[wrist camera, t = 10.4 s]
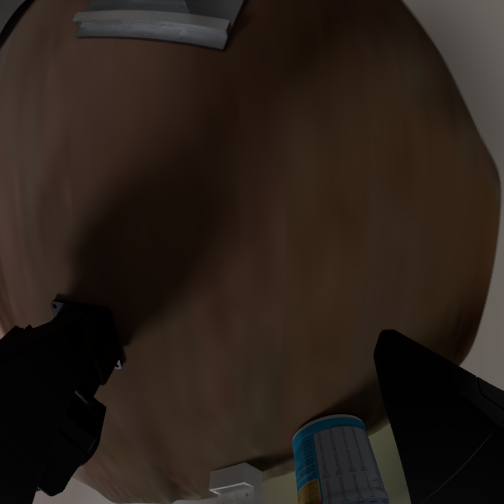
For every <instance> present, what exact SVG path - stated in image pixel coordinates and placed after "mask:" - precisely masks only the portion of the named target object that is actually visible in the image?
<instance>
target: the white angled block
mask: <svg viewBox="0 0 504 504" xmlns="http://www.w3.org/2000/svg"><path fill="white" fill-rule="evenodd" d="M209 490H210V491H212V492H214V493H216V494H218V502H217V504H263V491H262V471H260V470H258V469H256V468H255V467H253V466H251V465H249V464H247V463H246V462H244V463H241V464H238V465H234V466H230V467H227V468H223V469H219V470H215V471H211V475H210V483H209Z"/></svg>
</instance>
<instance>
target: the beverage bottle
mask: <svg viewBox="0 0 504 504" xmlns="http://www.w3.org/2000/svg"><path fill="white" fill-rule="evenodd" d="M292 443H293V451H294V460H295V470H296V481H297V493H298V504H389V503H390V502H389V496H388V493H387V492H386V491H385V488H384V485H383V482H382V479H381V476H380V472H379V469H378V466H377V463H376V460H375V457H374V454H373V451H372V448H371V445H370V442H369V439H368V435H367V431H366V428H365V425H364V423H363V422H362V420H360V419H359V418H358V417H355V416H352V415H347V414H335V415H329V416H324V417H321V418H318V419H315V420H313V421H311V422H309V423H307V424H306V425H304V426H303V427H301V428H300V429H299V430H298V431H297V432H296V434H295V435H294V438H293V442H292Z"/></svg>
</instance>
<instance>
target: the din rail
mask: <svg viewBox="0 0 504 504" xmlns="http://www.w3.org/2000/svg"><path fill="white" fill-rule="evenodd" d="M245 1H246V0H189V1H188V3H187V5H181V4H169V3H150V2H129V1H128V0H92V2H91V4H90V6H89V8H88V10H87V12H79V13H76V14H75V16H74V18H73V21H72V22H74V23H75V24H77V25H79V26H80V27H79V29H78V31H77V34H76V36H75V37H77V38H79V39H81V38H114V39H135V40H148V41H158V42H167V43H174V44H182V45H188V46H194V47H200V48H206V49H211V50H216V51H221V52H224V50H225V48H226V45H227V43H228V40H229V38H230V35H231V33H232V30H233V28H234V26H235V23H236V21H237V19H238V16H239V14H240V12H241V10H242V7H243V5H244V3H245Z"/></svg>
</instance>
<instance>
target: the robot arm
mask: <svg viewBox="0 0 504 504" xmlns="http://www.w3.org/2000/svg"><path fill="white" fill-rule="evenodd" d="M51 308H52V312H53V315H54V319H53V320H52V321H51V322H48V323H46V324H43V325H41V326H38V327H35V328H32V326H31V325H30V324H29V325H28V326H27V327H26V328H25V329H23V327H22V328H20V327H18V326H15V327H13V328H12V329H11V330H10V331H9V332H8V333H7V334H6V335H5V336H4V337H3V338H1V339H0V504H32V503H33V500H34V496H35V493H36V491H40V490H41V491H43V492H44V493H46V494H47V495H48V496H54V495H57V494H59V493H61V492H63V490H64V489H65V487H66V485H67V484H68V482H69V480H70V478H71V477H72V475H73V474H74V472H75V471H76V470H77V469H78V467H80V466H82V465H84V464H85V463H86V462H87V461H88V460H89V459H90V458H91V457H92V456H93V454H94V453H95V451H96V450H97V447H98V445H99V442H100V437H101V432H102V427H103V422H104V417H105V412H106V406H104V405H103V404H102V403H100V402H99V401H98V400H96V399H95V398H94V397H93V396H94V395H95V393H96V391H97V389H98V388H99V386H100V385H103V386H104V385H105V384H106V382H107V380H108V379H109V377H110V375H111V373H112V372H113V370H114V369H121V367H122V365H123V363H122V359H121V351H120V347H119V342H118V338H117V334H116V332H115V329H114V325H113V320H112V315H111V311H110V310H109V309H108V308H106V307H100V306H93V305H87V304H80V303H74V302H68V301H62V300H57V299H54V300H53V301H52V302H51ZM104 313H106V315H105V314H104ZM374 362H375V366H376V371H377V375H378V380H379V385H380V390H381V394H382V399H383V402H384V405H385V408H386V412H387V415H388V418H389V421H390V424H391V428H392V431H393V435H394V438H395V441H396V445H397V448H398V452H399V456H400V459H401V463H402V467H403V471H404V475H405V478H406V482H407V486H408V491H409V495H410V500H411V504H504V391H503V390H501V389H499V388H497V387H495V386H493V385H491V384H489V383H488V382H486V381H484V380H482V379H481V378H479V377H476V376H475V375H473V374H472V373H470V372H468V371H466V370H465V369H463V368H461V367H459V366H458V365H456V364H454V363H452V362H451V361H449V360H447V359H445V358H444V357H442V356H440V355H438V354H437V353H435V352H433V351H431V350H429V349H428V348H426V347H424V346H422V345H421V344H419V343H417V342H415V341H414V340H412V339H410V338H408V337H406V336H405V335H403V334H401V333H399V332H398V331H396V330H393V329H390V330H382V331H381V332H380V334H379V338H378V341H377V344H376V347H375V350H374ZM117 364H118V365H117Z"/></svg>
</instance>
